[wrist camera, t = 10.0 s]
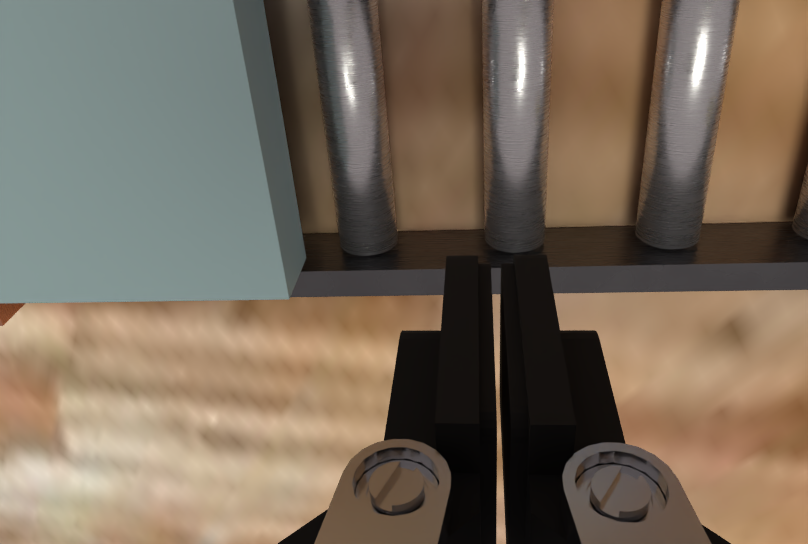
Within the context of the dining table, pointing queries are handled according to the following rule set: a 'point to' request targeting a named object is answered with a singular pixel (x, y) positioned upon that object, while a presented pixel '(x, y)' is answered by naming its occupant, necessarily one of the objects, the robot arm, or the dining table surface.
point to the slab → (143, 154)
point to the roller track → (538, 169)
